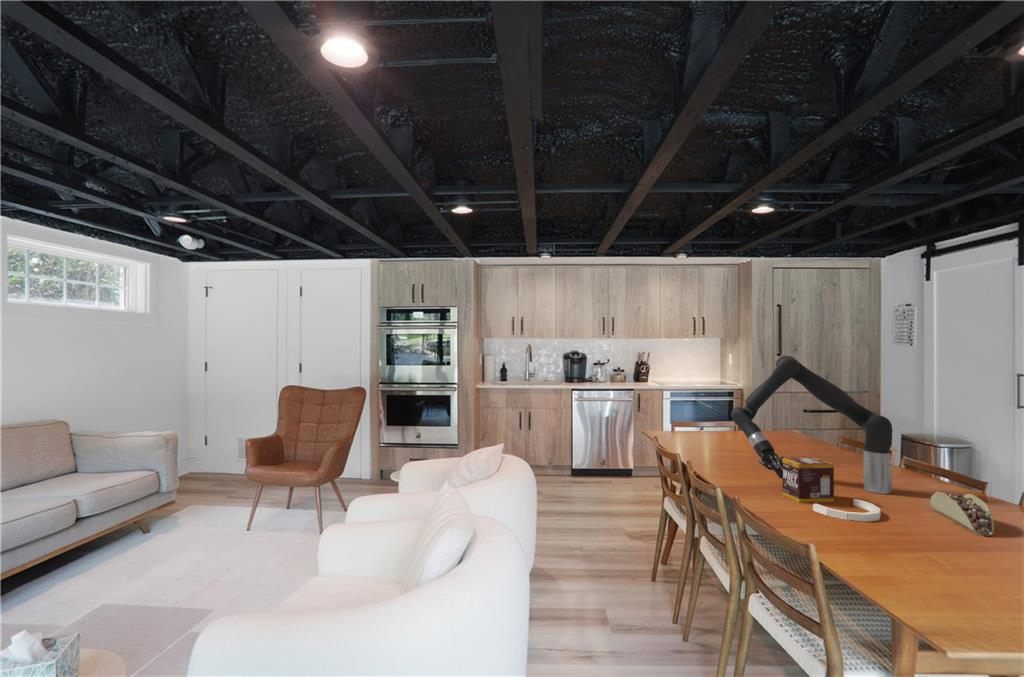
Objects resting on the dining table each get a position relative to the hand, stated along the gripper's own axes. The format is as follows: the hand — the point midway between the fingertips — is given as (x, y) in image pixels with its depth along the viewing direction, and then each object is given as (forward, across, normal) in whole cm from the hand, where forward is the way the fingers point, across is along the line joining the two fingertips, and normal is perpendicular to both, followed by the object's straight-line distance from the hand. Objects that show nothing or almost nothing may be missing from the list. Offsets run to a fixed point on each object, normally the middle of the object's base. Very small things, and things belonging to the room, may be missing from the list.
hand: (783, 477), depth 205 cm
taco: (+38, +29, -30) cm, 57 cm away
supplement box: (+12, 0, -4) cm, 13 cm away
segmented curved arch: (+26, 0, -18) cm, 32 cm away
